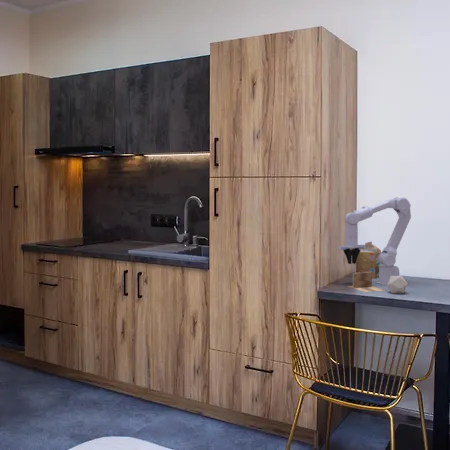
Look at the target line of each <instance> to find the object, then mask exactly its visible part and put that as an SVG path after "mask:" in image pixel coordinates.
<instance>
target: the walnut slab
mask: <svg viewBox="0 0 450 450" xmlns="http://www.w3.org/2000/svg"><path fill="white" fill-rule="evenodd" d="M352 286H353V287H354V288H362V287H372V286H373V279H372V272H359V273H356V272H352ZM354 288H353V289H354Z"/></svg>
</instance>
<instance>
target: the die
mask: <svg viewBox="0 0 450 450" xmlns="http://www.w3.org/2000/svg"><path fill="white" fill-rule="evenodd" d="M408 284H409V283H408V282H407V281H406V279H405V278H404V277H403V276H402V275H399V276H391V277H390V279H389V281H388V284H387V285H386V287H387V288H388V290H389V291H390V293H391V294H398V293H405V291H406V289H407V286H408Z"/></svg>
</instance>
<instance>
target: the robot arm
mask: <svg viewBox="0 0 450 450" xmlns="http://www.w3.org/2000/svg"><path fill="white" fill-rule="evenodd" d="M411 206H412V205H411V203H410V201H409V200H408V198H407V197H394V198H390V199H387V200H384V201H383V202H380V203H377V204H375V205H374V206H371V207H370V206H365V205H363V206H362V207H361V208H360V209H357V210H355V209H354V210H353V212H348V213H347V214H346V215H345V216H344V217H345V218H344V221H345V224H346V225H345V245H338V246H337V250H339V251H342V250H343V251H342V252H343V253H344V255H345V258H346V262H347V264H348V265H351V264H354V265H356V259H357V257H358V254H359V253H360V250H359V249H365V244H359V243H358V242H359V239H358V236H359V235H358V233H359V227H358V224H359V222H362V221H365V220H367V219H370V218H372V217H373V215H374V214H375V213H377V212H382V211H383V210H384V211H385V210H386V209H393V210H394V211H395V213H396V214H397V217H398V220H397V222H396V224H395V226H394V228H393V230H392V232H391V235H390V237H389V240H388V242H387V244H386V246H385V247H384V248H383V250H382V251H381V253H380V254H379V256H378V261H379V262H380V265H379V277H378V281H375V284H376V283H377V284H379V285H383V286H387V284H388V281H389V279H390V277H391V276H400V269H399V267H398V266H397V265H395V264H396V261H397V255H398V251H397V249H398V248H399V245H400V242H401V241H402V238H403V236H404V234H405V232H406V229H407V227H408V226H409V225H408V224H409V223H410V221H411V219H412V215H411Z"/></svg>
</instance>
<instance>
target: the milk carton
mask: <svg viewBox="0 0 450 450" xmlns="http://www.w3.org/2000/svg"><path fill="white" fill-rule="evenodd" d="M364 245H365V249H359V250H360V253H359V254H358V257H357V259H356V263H355V273H359V272H372V280H373V279H375V280H376V279H379V265H380V262H379V261H378V256H379V254H380V253H381V252H382V251H381V249H380V248H379V247H377V246H376V245H375V244H373V242H372V240H371V241H368V242H365V243H364Z"/></svg>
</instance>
